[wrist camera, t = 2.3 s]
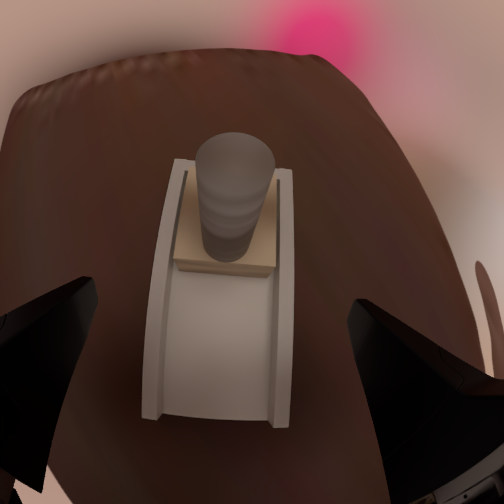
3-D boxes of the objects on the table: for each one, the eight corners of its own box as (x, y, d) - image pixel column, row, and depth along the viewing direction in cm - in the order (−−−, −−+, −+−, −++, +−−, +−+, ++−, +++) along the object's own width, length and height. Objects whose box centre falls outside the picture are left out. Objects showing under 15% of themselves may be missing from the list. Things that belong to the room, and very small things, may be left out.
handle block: (267, 278, 20) (320, 204, 10) (179, 270, 19) (143, 188, 9) (269, 195, 22) (306, 90, 12) (191, 188, 22) (182, 76, 11)
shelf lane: (281, 415, 18) (293, 427, 15) (148, 406, 17) (137, 416, 14) (286, 190, 24) (295, 170, 21) (175, 180, 23) (171, 158, 20)
